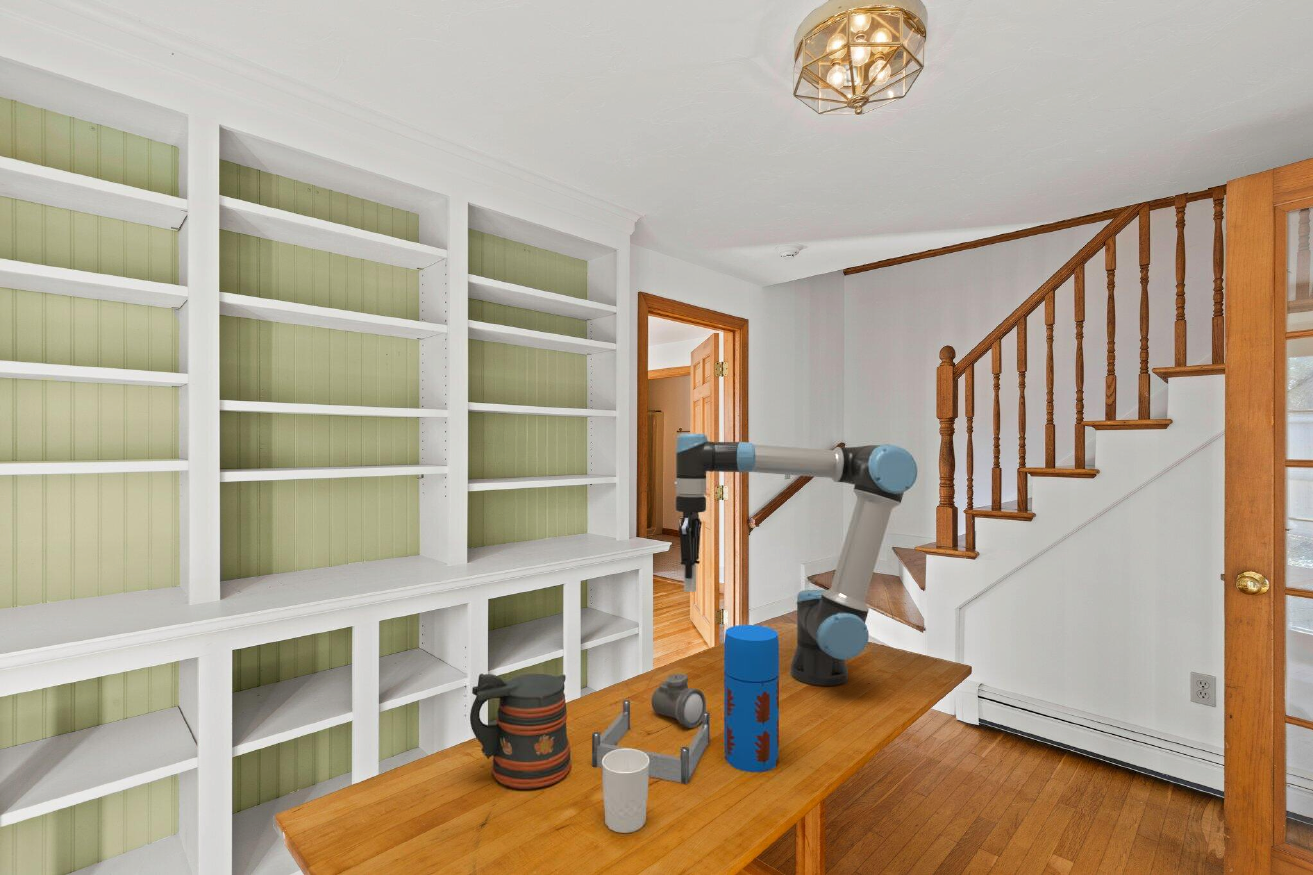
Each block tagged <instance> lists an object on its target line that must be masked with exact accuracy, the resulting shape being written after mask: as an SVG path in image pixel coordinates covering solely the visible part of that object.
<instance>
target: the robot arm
mask: <svg viewBox="0 0 1313 875" xmlns="http://www.w3.org/2000/svg"><path fill="white" fill-rule="evenodd" d="M707 437H708V436H707V434H706V433H687V432H686V433H680V434H679V435H678V436H677V439H676V451H675V458H676V459H675V463H676V465H675V466H676V467H675V468H676V470H675V471H676V473H675V477H676V478H675V479H676V480H675V481H674V483H673V485H674V486H675V487H676V490H675V491H676V492H675V493H676V495H677V496H676V497H675V510H676V511H677V512H680V513H682V519H680V525H679V526H678V532H679V540H680V541H679V542H680V543H679V544H680V556H681V557H680V560H681V562H680V565H683V592H690V593H691V592H692V593H694V592H696V591H697V565H699V564H700V563H701V561H700V560H699V558H700V546H701V545H700V543H701V530H702V525H703V522H702V520H701V519H700V516H699V513H703V512H706V510H707V497H706V496H705V495H706V494H707V472H716V473H717V472H721V473H722V472H723V473H740V474H741V473H759V474H773V475H787V476H801V477H814V478H815V477H817V478H826V479H828V478H829V479H831V480H832V481H833V482H835V483H844V484H849V485H853V486H854V487H853V492H854V494H855V495H856V496H855V497H856V498H857V499H856V502H855V505H854V509H853V511H852V515H851V519H850V522H849V526H848V529H847V532H846V535H845V539H844V543H843V546H842V549H841V552H840V556H839V559H838V563H837V566H836V569H835V573H834V575H833V579H832V582H831V585H830V588H829V589H804V590H801V591H799V592H798V593H797V601H796V609H797V610H796V624H797V625H796V632H797V633H796V634H797V636H796V637H797V638H796V643H797V644H796V647H795V651H794V654H793V656H792V660H791V663H790V675H791V677H793V679H795V680H797V681H798V682H801V681H802V682H801V683H805V684H807V685H812V686H819V687H820V686H821V687H834V686H840V685H842V684H845V683H847V681H849V669H848V666H847V663H846V660H850V659H853V658H856V657H857V656H859V655H860V654H861V653H863V651H864V650H865V649H866V647H867V645H868V643H869V637H870V635H869V629H868V626H867V624H866V621H867V617H868V614H869V610H870V608H869V607H868V605H867V603H866V599H867V595H868V591H869V587H870V584H871V581H872V578H873V577H872V576H873V574H874V570H875V568H876V564H877V560H878V558H879V554H880V550H881V548H882V544H883V541H884V537H885V534H886V531H887V527H888V525H889V524H888V523H889V521H890V517H891V513H892V512H893V509H894V508H896V507H898V506H900V505H901V504H902V499H903V497H904V493H905V492H907V491H908V490H909V489H911V488H912V487H913V486H914V484H915V483H916V481H917V478H918V465H917V462H916V460H915V459H914V457H913V455H912V454H911V453H910V452H909V451H908V450H906V449H905V448H903V447H901V446H898V445H892V444H877V445H876V444H873V445H872V444H870V445H862V446H861V445H860V446H850V447H849V446H848V447H847V446H846V447H844V446H836V447H835V448H833V449H821V448H820V449H818V448H807V447H804V448H803V447H795V446H794V447H793V446H792V447H791V446H790V447H789V446H780V445H779V446H778V445H764V444H763V445H762V444H753V443H752V442H745V441H709V440H708V438H707Z"/></svg>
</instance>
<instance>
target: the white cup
mask: <svg viewBox="0 0 1313 875" xmlns="http://www.w3.org/2000/svg"><path fill="white" fill-rule="evenodd" d="M639 750H640V749H637V750H636V749H635V748H631V749H618V750H614V751H611V752H609V753H607V754H606V755H605V756H604V757H603V759H602V767H601V771H602V792H603V793H602V797H603V799H602V800H603V807H604V823H605V825H606V827H608V829H609V830H611V831H612V832H613V831H614V832H615V833H620V834H622V833H623V834H628V833H635V832H636V831H638V830H640V829H642V828H643V826H644V825H645V823H646V819H647V816H646V815H647V804H648V796H649V795H648V793H649V779H650V777H649V757H648V756H647V755H646V754H645V753H644V752H642V751H643V750H642V751H639Z"/></svg>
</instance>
